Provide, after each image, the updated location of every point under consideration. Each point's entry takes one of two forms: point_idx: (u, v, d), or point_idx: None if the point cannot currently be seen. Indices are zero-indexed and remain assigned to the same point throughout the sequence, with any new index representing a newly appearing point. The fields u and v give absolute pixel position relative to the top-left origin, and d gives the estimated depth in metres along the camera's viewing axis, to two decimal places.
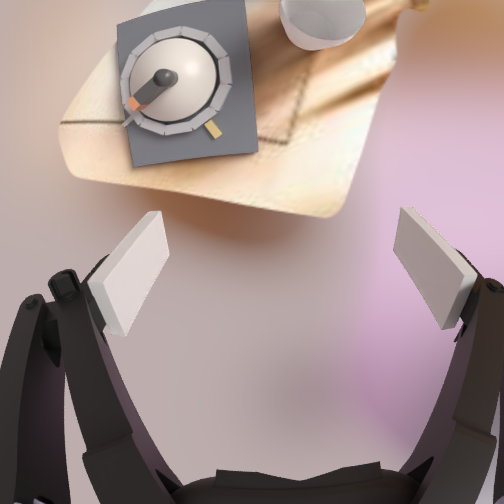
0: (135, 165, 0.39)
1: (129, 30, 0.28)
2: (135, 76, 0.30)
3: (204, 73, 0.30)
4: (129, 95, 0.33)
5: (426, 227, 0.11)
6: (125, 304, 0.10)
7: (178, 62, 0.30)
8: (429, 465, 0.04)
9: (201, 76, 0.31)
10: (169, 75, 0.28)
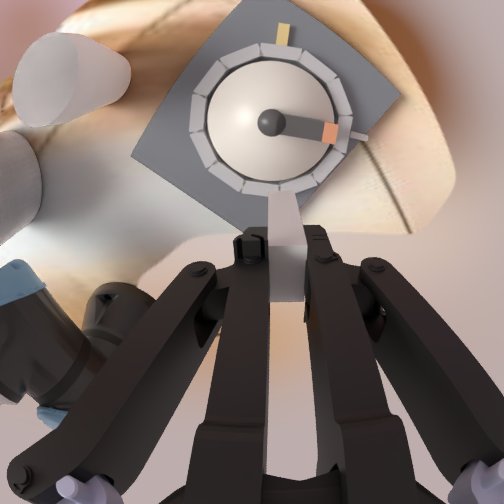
0: (397, 93, 0.23)
1: (259, 225, 0.32)
2: (300, 165, 0.26)
3: (231, 91, 0.23)
4: (328, 155, 0.27)
5: (288, 206, 0.14)
6: None
7: (245, 129, 0.25)
8: None
9: (237, 90, 0.23)
10: (261, 116, 0.22)
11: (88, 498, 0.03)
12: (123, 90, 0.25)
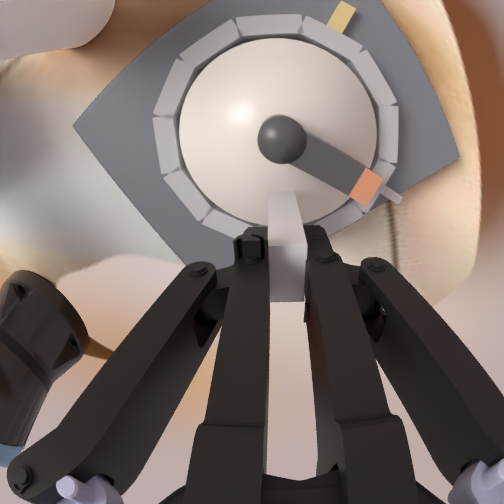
0: (457, 154, 0.17)
1: None
2: None
3: (235, 70, 0.14)
4: (342, 209, 0.18)
5: (288, 206, 0.14)
6: None
7: (236, 134, 0.16)
8: None
9: (245, 70, 0.14)
10: (269, 124, 0.12)
11: (87, 499, 0.03)
12: (92, 33, 0.14)
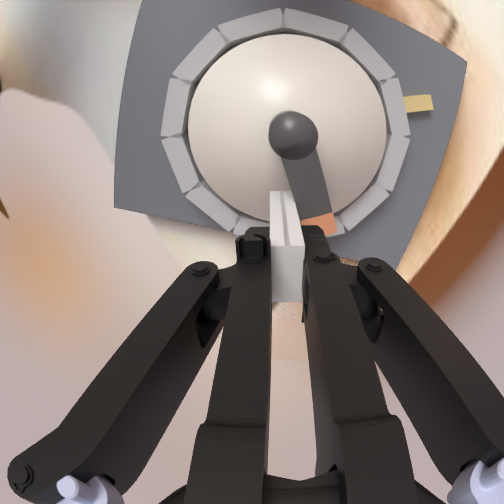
0: (395, 266, 0.22)
1: (134, 186, 0.20)
2: (245, 199, 0.18)
3: (308, 57, 0.13)
4: None
5: (286, 206, 0.14)
6: None
7: (258, 100, 0.14)
8: None
9: (315, 65, 0.13)
10: (297, 116, 0.12)
11: (88, 498, 0.03)
12: None
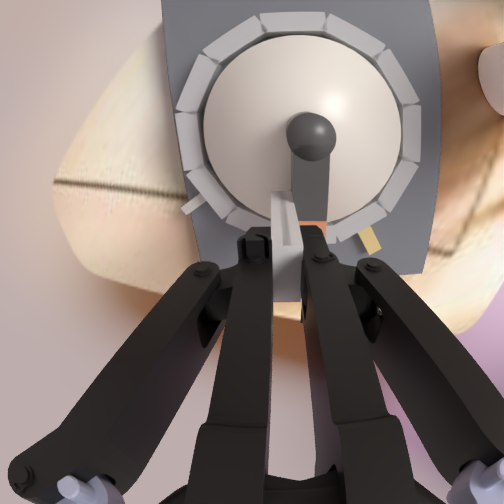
0: None
1: (191, 3, 0.13)
2: (241, 186, 0.17)
3: (346, 69, 0.13)
4: (200, 152, 0.17)
5: (285, 206, 0.14)
6: None
7: (285, 94, 0.14)
8: None
9: (350, 77, 0.13)
10: (321, 119, 0.12)
11: (89, 498, 0.03)
12: (484, 72, 0.12)
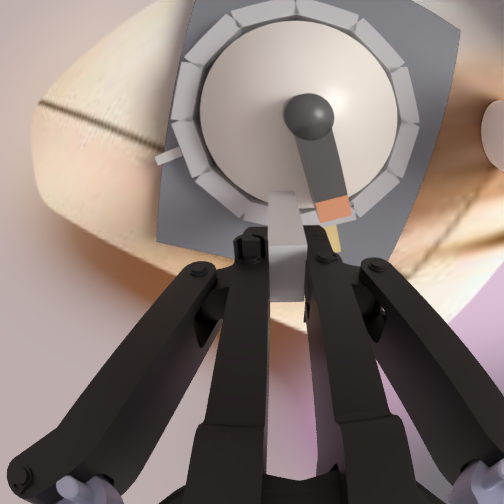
0: (160, 240, 0.22)
1: None
2: (257, 184, 0.17)
3: (322, 44, 0.12)
4: (192, 105, 0.16)
5: (288, 206, 0.14)
6: None
7: (272, 83, 0.14)
8: None
9: (328, 51, 0.13)
10: (313, 97, 0.12)
11: (88, 499, 0.03)
12: (488, 119, 0.15)
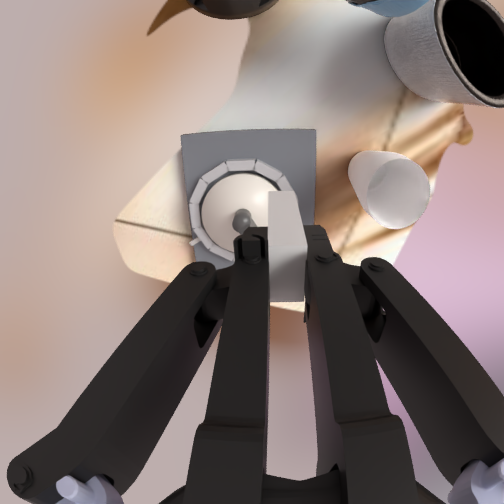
0: None
1: (195, 146, 0.38)
2: None
3: (241, 184, 0.38)
4: (199, 221, 0.42)
5: (288, 206, 0.14)
6: None
7: (227, 207, 0.40)
8: None
9: (245, 187, 0.38)
10: (240, 217, 0.37)
11: (87, 499, 0.03)
12: (348, 171, 0.39)
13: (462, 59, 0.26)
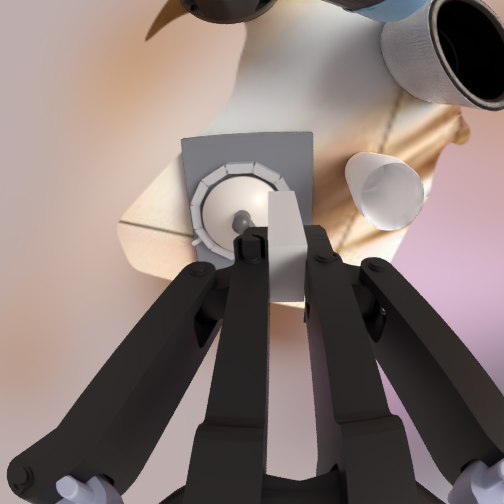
0: None
1: (196, 150, 0.39)
2: None
3: (240, 187, 0.39)
4: (200, 222, 0.43)
5: (288, 206, 0.14)
6: None
7: (227, 209, 0.41)
8: None
9: (244, 189, 0.40)
10: (239, 219, 0.39)
11: (88, 499, 0.03)
12: (345, 173, 0.40)
13: (460, 60, 0.26)
